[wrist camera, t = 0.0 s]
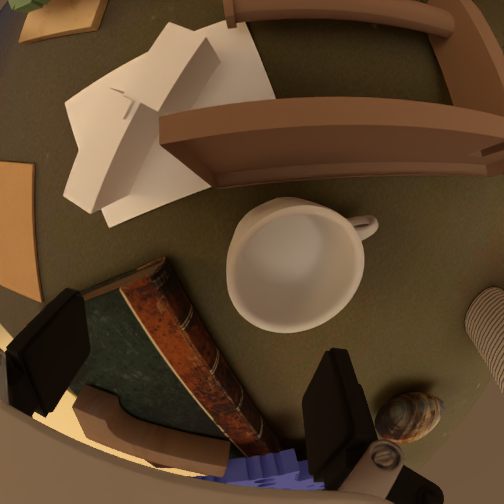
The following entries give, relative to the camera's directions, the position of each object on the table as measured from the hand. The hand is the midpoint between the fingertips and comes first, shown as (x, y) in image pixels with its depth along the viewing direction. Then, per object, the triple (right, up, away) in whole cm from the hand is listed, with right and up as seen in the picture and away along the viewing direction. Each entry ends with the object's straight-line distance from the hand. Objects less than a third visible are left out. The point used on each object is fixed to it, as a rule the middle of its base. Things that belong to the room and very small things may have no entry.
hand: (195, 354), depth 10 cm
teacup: (+5, +5, +11) cm, 13 cm away
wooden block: (-15, -12, +12) cm, 23 cm away
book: (-7, -10, +17) cm, 21 cm away
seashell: (+17, -17, +17) cm, 29 cm away
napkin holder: (-4, +13, +8) cm, 15 cm away
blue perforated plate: (+4, -27, +17) cm, 32 cm away
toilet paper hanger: (+10, +15, +8) cm, 20 cm away
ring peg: (-13, +26, +3) cm, 29 cm away
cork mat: (-25, +6, +11) cm, 28 cm away
